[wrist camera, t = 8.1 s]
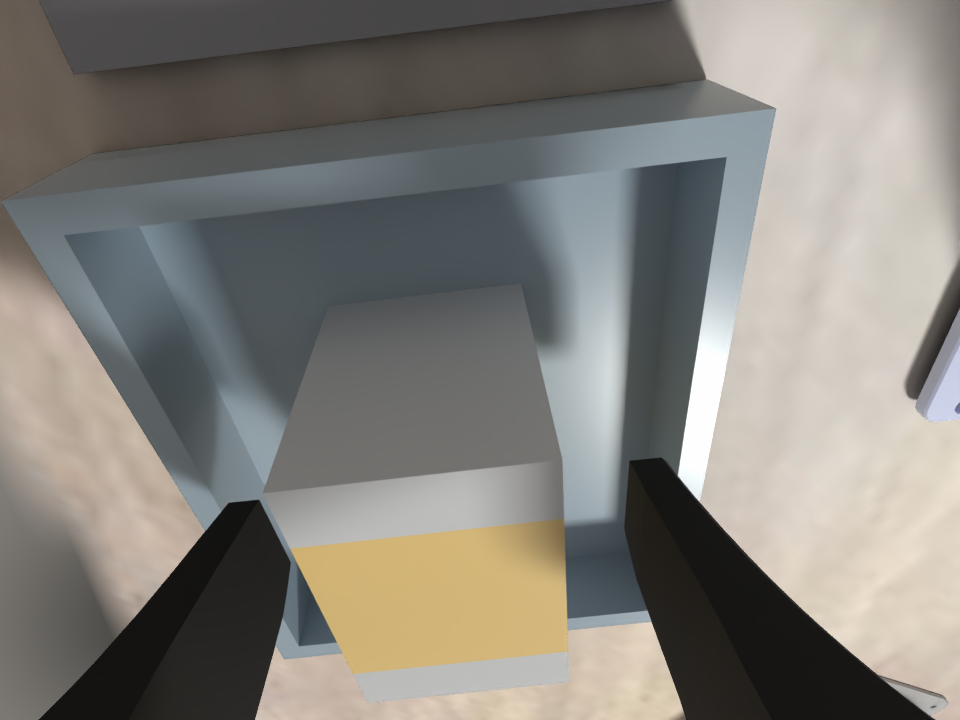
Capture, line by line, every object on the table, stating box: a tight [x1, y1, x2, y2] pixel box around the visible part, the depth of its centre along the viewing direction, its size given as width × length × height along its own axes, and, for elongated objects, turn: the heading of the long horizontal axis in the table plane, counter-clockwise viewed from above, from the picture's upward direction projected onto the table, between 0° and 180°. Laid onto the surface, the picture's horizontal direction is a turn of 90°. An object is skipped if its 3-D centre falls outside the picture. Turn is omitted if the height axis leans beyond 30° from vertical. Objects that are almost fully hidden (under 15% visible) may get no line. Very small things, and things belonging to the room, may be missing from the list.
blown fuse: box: [262, 283, 569, 703], centre depth 11 cm, size 4×6×5 cm, turn 6°
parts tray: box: [1, 80, 776, 659], centre depth 13 cm, size 11×13×2 cm
